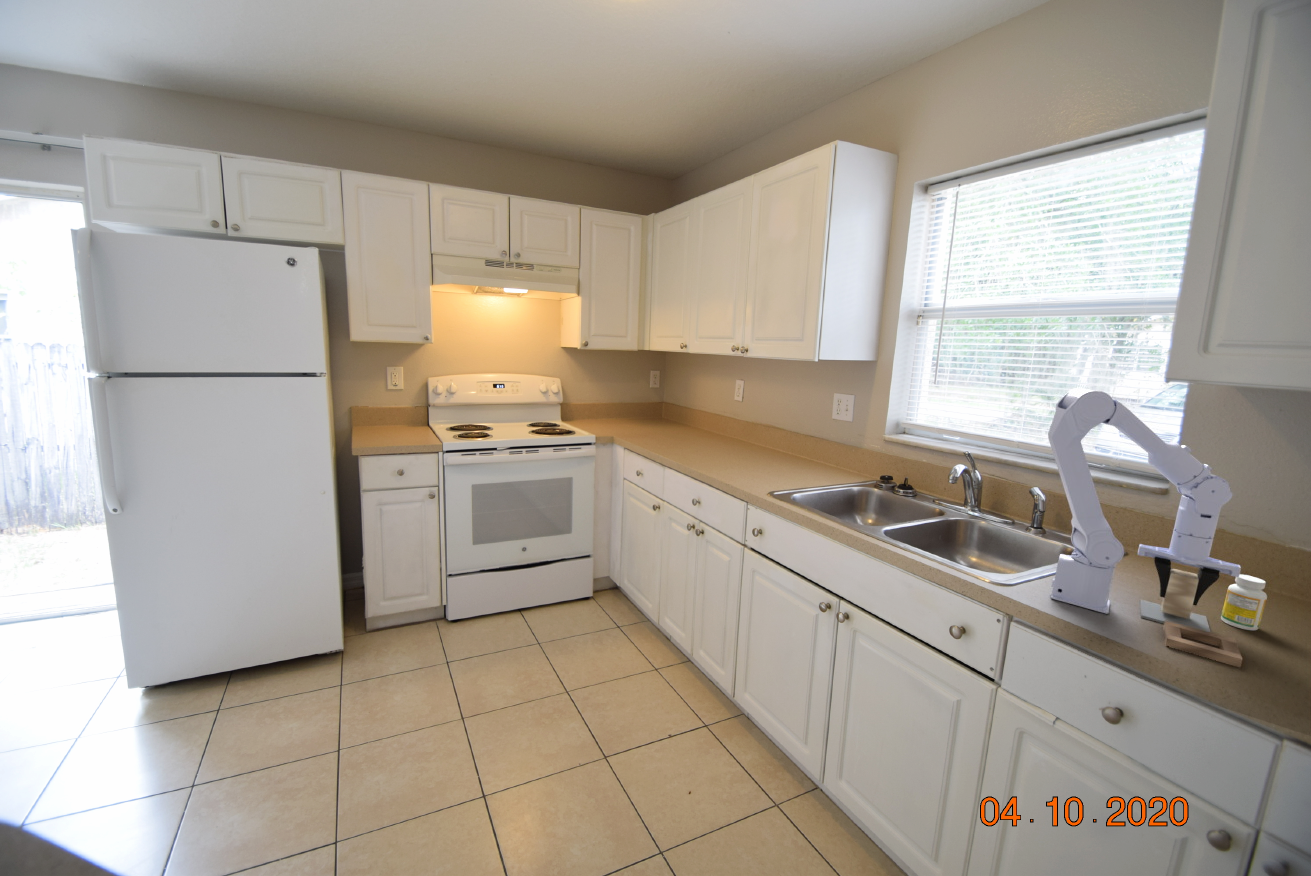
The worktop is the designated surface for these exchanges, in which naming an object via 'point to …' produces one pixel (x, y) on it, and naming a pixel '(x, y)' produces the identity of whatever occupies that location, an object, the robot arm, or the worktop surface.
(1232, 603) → the supplement bottle
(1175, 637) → the pocket block
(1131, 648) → the worktop surface
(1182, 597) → the maple part
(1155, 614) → the slate mat
